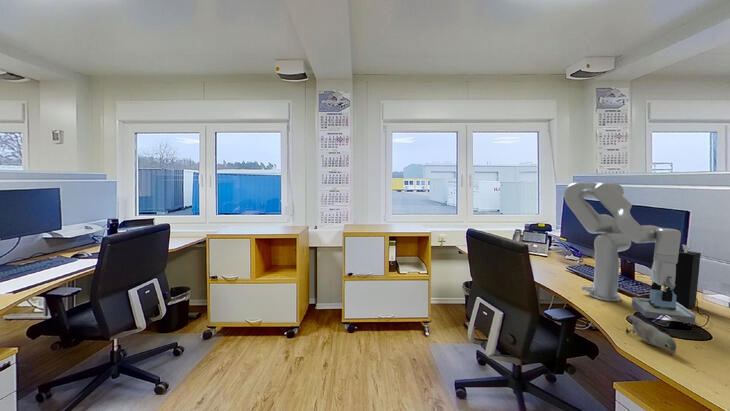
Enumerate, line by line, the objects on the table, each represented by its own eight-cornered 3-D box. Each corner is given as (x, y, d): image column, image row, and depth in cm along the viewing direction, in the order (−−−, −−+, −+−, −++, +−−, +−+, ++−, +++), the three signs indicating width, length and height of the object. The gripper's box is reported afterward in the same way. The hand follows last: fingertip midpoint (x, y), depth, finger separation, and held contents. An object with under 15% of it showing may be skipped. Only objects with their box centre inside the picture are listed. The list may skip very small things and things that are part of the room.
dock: (644, 318, 136) (645, 308, 136) (631, 306, 149) (632, 297, 149) (694, 324, 131) (695, 314, 130) (676, 311, 144) (677, 302, 143)
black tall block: (688, 309, 146) (694, 247, 144) (665, 303, 153) (671, 244, 151) (695, 306, 150) (701, 245, 148) (673, 300, 157) (678, 242, 155)
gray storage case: (653, 308, 139) (654, 292, 138) (648, 304, 143) (649, 289, 143) (676, 311, 136) (677, 295, 135) (670, 306, 141) (671, 291, 140)
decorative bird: (666, 357, 107) (668, 334, 106) (622, 333, 123) (623, 314, 122) (681, 356, 108) (683, 334, 107) (634, 333, 123) (636, 313, 123)
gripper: (645, 252, 147) (641, 289, 149) (664, 262, 131) (659, 303, 133) (666, 254, 145) (662, 291, 147) (688, 264, 129) (683, 306, 130)
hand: (660, 297), depth 140 cm, fingers open, 9 cm apart
